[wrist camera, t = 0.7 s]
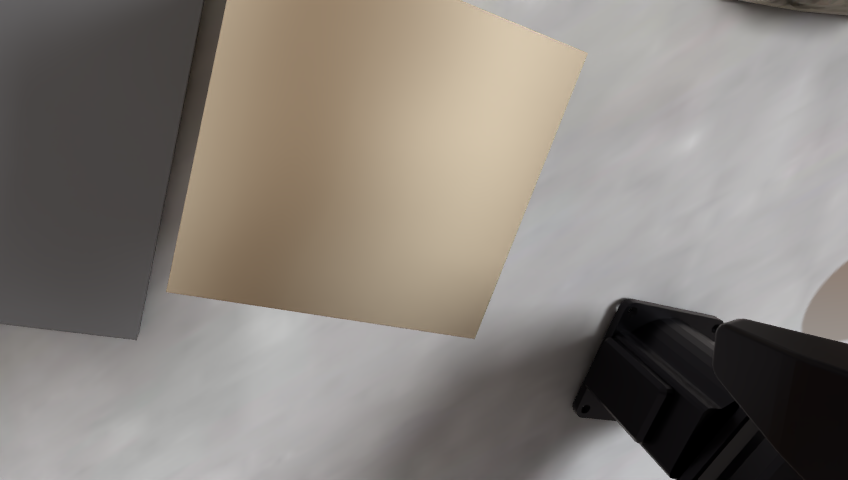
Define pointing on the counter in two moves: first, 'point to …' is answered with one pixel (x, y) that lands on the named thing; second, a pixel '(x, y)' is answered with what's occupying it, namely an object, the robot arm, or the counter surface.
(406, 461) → the counter surface
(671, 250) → the counter surface
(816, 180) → the counter surface
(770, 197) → the counter surface
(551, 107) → the birch block
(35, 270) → the rubber mat
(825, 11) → the packaged product
